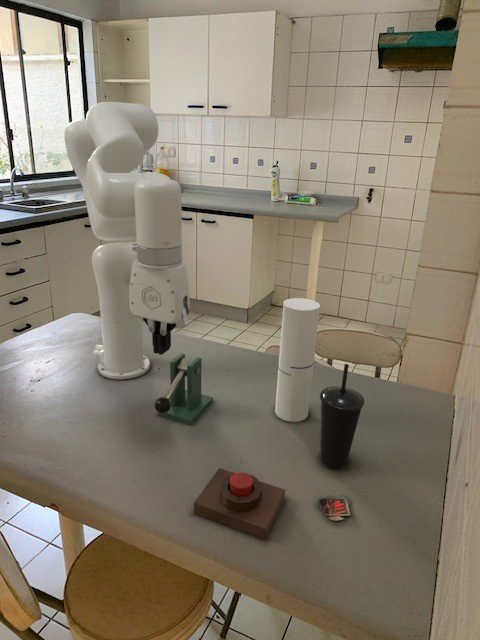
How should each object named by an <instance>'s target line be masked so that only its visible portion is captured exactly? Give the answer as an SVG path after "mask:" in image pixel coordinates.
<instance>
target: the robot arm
mask: <svg viewBox="0 0 480 640" xmlns="http://www.w3.org/2000/svg"><path fill="white" fill-rule="evenodd" d="M63 135H64V136H63V137H64V146H65V150H66V154H67V157H68V161H69V164H70V166H71V167H72V169H73V171H74V173H75V175H76V177H77V179H78V180H79V182H80V185H81V186H82V187H81V188H82V190H83V194H84V200H85V204H86V205H85V206H86V209H87V215H88V219H89V223H90V227H91V231H92V233H93V235H94V236H95V237H96V239H99V240H101V241H108V242H110V241H120V242H111V243H105V244H102V245H100V246H98V247H96V248H95V249H94V250H93V252H92V255H91V265H92V266H91V267H92V271H93V275H94V278H95V279H94V280H95V282H96V287H97V292H98V293H97V294H98V302H99V315H100V326H101V327H100V328H101V338H102V344H101V345H100V344H96V345H95V346H94V350H93V351H92V355H93V356H94V357H98V358H100V362H99V363H98V365H97V369H98V374H100V375H101V376H103V377H104V378H106V379H107V378H108V379H111V380H129V379H135V378H137V377H141V376H142V375H144V374H146V373H147V372H148V371H149V369H151V368H150V367H151V362H150V359H149V358H148V357H147V356H145V355H144V344H143V343H144V341H143V340H144V339H143V322H144V323H145V325H146V326H147V327H148V331H149V333H151V335H152V336H151V338H152V339H151V340H152V341H151V342H152V343H151V344H152V347H153V350H152V351H153V354H156V355H157V354H158V355H160V356H163V355H164V354H165V353H167V352H168V351H169V350H170V349H171V347H172V331H174V330H175V329H184V328H186V327H187V326H188V325H189V324H190V323H189V319H188V315H190V309H191V298H190V297H191V296H190V286H189V285H190V284H189V277H188V272H187V267H186V264H185V262H183V248H182V247H183V239H182V238H183V237H182V236H183V235H182V234H183V233H182V228H183V227H182V203H183V202H182V186H181V185H180V183H179V182H178V181H176V180H173V179H171V178H170V177H169V175H167V174H164V173H159V172H133V171H135V170H136V169H137V168H138V167H139V166H140V164H141V163H142V162H143V159H144V155H145V154H146V153H147V152H149V151H150V150H151V149H152V148H153V147H154V146H155V144H156V142H157V140H158V137H159V122H158V119H157V116H156V113H155V112H154V111H153V109H152V108H151V107H149V106H148V105H146V104H143V103H134V102H122V101H120V102H119V101H101V102H97V103H95V104H93V105H92V106H91V107H90V108H89V109H88V111H87V113H86V116H85V118H83V119H75V120H72V121H71V122H69V123H68V124H67V125H66V126H65V129H64V134H63ZM125 240H126V241H125ZM128 240H136V241H128ZM121 241H123V242H121Z"/></svg>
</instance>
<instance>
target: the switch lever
mask: <svg viewBox="0 0 480 640" xmlns="http://www.w3.org/2000/svg"><path fill="white" fill-rule="evenodd" d="M192 361H194V359H190V358H186V357H185V358H183V359H182V361H181V362H180V364H179V366H178V367H177V368H178V371H179V373H178V375H177V376H176V378H175V380H174V381H173V383H172V384H171V383H170V386H169V388H168V389H167V390H166V393H165V394H164V396H161V397H158V398H157V399H156V400H155V402H154V405H153V407H154V410H155V412H157V414H158V413H161V414H164V413H167V412H168V411H169V410H170V408H171V402H170V400H171V398H172V396H173V395H174V393H175V391H176V390H177V388H178V386H179V385H180V383H181V381H182V380H183V378H184V376H185V378H187V365H189V364H190V363H191V362H192Z"/></svg>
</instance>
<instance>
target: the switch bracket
mask: <svg viewBox="0 0 480 640" xmlns="http://www.w3.org/2000/svg"><path fill="white" fill-rule="evenodd" d="M183 358H186V354H185V353H182V352H181V353H179V354H178V355H177V356H175V357H174V358H172V359H171V360H170V361H169V369H170V371H169V374H170V376H169V377H170V385H171V384H172V383H173V381H174V380H175V378H176V376H177V375H178V373H179V371H178V368H177V367H178V366H179V364H180V362H181V361H182V359H183ZM186 387H187V388H186ZM170 402H171V408H170V410H169V411H168V412H167V413H164V414H161V413H158V412H157V416H159V417H163V418H166V419H170V420H173V421H176V422H180V423H183V424H186V425H190V426H192V425H193V424H194V423H195V422H196V421H197V420H198V419H199V418H200V416H201V415H202V414H203V413H204V412H205V411H206V410H207V409H208V408H209V407H210V406H211V405H212V404H213V403H214V396H210V395H206V394H203V393H202V358H201V357H199V356H197V357H196V358H195V359H193V361H192V362H191V363H190V364H189V365H187V377H186V376H184V378H183V380H182V381H181V383H180V385H179V386H178V388H177V390H176V391H175V393H174V395H173V396H172V398H171V400H170Z"/></svg>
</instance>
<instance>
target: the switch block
mask: <svg viewBox="0 0 480 640" xmlns="http://www.w3.org/2000/svg"><path fill="white" fill-rule="evenodd" d="M235 473H236V472H233V471H230V470H227V469H224V468H221V467H219V468H218V469H217V470H216V472H215V473H214V474H213V476H212V477H211V479H210V480H209V481H208V483H207V484H206V486H205V487H204V488H203V489H202V491H201V492H200V494H198V497H197V498H196V499H195V500H194V502H193V514H194V515H198V516H200V517H203V518H206V519H208V520H211V521H213V522H216V523H219V524H221V525H224V526H226V527H228V528H232V529H234V530H237V531H240V532H242V533H245V534H247V535H250V536H253V537H256V538H259V539H261V540H262V541H266V540H267V537H268V535H269V533H270V530H271V529H272V527H273V525H274V523H275V520H276V519H277V516H278V514H279V512H280V510H281V508H282V506H283V504H284V502H285V499H286V498H285V497H286V489H285V488H282V487H279V486H275V485H272V484H269V483H266V482H263V481H260V480H259V479H258V478H257V477H256V476H255V475H252V474H249V475H250V476H251V477H252V479H253V488H252V492H251V494H249V495H248V496H244V497H238V496H235V495H233V494H232V493H231V491H230V478H231V476H232V475H234V474H235Z"/></svg>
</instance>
